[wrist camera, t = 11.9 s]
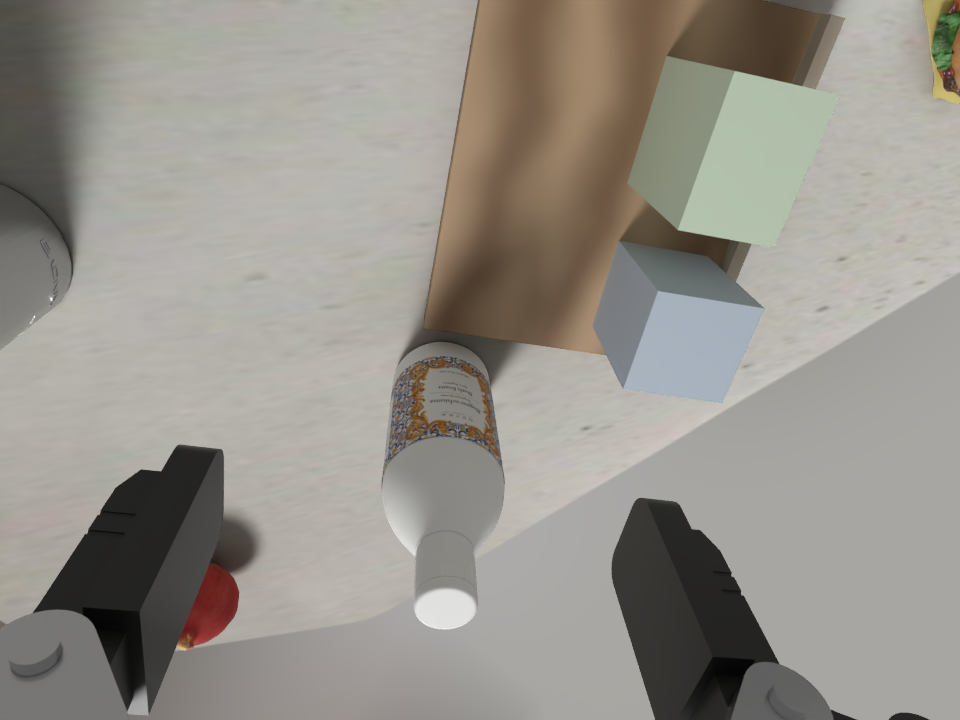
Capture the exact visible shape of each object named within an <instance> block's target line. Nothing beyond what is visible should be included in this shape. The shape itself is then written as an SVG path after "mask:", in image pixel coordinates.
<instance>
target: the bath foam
mask: <svg viewBox="0 0 960 720" xmlns="http://www.w3.org/2000/svg"><path fill="white" fill-rule="evenodd" d="M504 484H505V482H504V473H503V466H502V460H501V453H500V446H499V440H498V433H497V426H496V419H495V413H494V406H493V399H492V393H491V388H490V381H489V376H488V372H487V370H486V367H485V365H484V364H483V362H482V361H481V360H480V358H479V357H478V356H477V355H476V354H475V353H473V352H472V351H471V350H469V349H467V348H465V347H463V346H461V345H458V344H454V343H449V342H434V343H429V344H425V345H422V346H420V347H418V348H416V349H414V350H413V351H411V352H410V353H409V354H407V355H406V356H405V357H404V358H403V359H402V361H401V362H400V364H399V365H398V367H397V370H396V372H395V376H394V380H393V388H392V394H391V403H390V412H389V421H388V431H387V440H386V449H385V458H384V467H383V477H382V497H383V504H384V509H385V513H386V516H387V519H388V521H389V524H390V526H391V528H392V529H393V531H394V533H395V534H396V536H397V537H398V538H399V540H400V541H401V542H402V543H403V544H404V546H405V547H406V548H407V549H408V550H409V551H410V552H411V553H412V554H413V555H414V556H415V557H416V558H415V581H414V610H415V613H416V616H417V618H418V619H419V620H420V621H421V622H422V623H424V624H425V625H427V626H429V627H432V628H436V629H453V628H457V627H460V626H462V625H464V624H466V623H467V622H469V621H470V620H471V619H472V618H473V617H474V615H475V613H476V611H477V606H478V599H477V598H478V597H477V584H476V572H475V571H476V570H475V558H474V554H475V553H476V552H477V551H478V550H479V549H480V547H481V546H482V545H483V544H484V543H485V541H486V540H487V539H488V537H489V536H490V535H491V533H492V532H493V530H494V528H495V526H496V524H497V522H498V519H499V517H500V514H501V510H502V506H503V500H504Z"/></svg>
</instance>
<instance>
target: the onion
mask: <svg viewBox="0 0 960 720" xmlns="http://www.w3.org/2000/svg"><path fill="white" fill-rule="evenodd" d="M238 600H239V590H238V587H237V584H236V582H235V580H234V578H233V577H232V576H231V575H230V574H229V573H228V572H227V571H226V570H225V569H223V568H221V567H220V566H219V565H218V564H216V563H210V564H209V566H208V569H207V571H206V574H205V576H204V579H203V581H202V584H201V586H200V589H199V591H198V594H197V596H196V599H195V601H194V604H193V606H192V609H191V611H190V614H189V616H188V619H187V621H186V624H185V626H184V629H183V631H182V634H181V636H180V639H179V641H178V644H177V646H178V648H179V649H180V650H188V649H191V648H193V646H195V645H199V644H202V643H205V642H208V641H209V640H211V639H213V638H214V637H216V636H217V635H219V634H220V633H221V632H222V631H223V630H224V629H225V628H226V627H227V625H228V624H229V623H230V622H231V620H232V619H233V618H234V616H235V614H236V611H237V608H238Z"/></svg>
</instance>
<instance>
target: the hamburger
mask: <svg viewBox="0 0 960 720" xmlns="http://www.w3.org/2000/svg"><path fill="white" fill-rule="evenodd" d="M922 1H923V9H924V13H925V17H926V21H927V26H928V31H929V45H930V56H931V61H932V65H933V70H934V86H933V96H934V98H942V99H945V100H947V101H948V102H950V103H953V104H960V0H922Z"/></svg>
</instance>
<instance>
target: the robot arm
mask: <svg viewBox="0 0 960 720" xmlns="http://www.w3.org/2000/svg"><path fill="white" fill-rule="evenodd" d="M70 280H71V260H70V256H69V252H68V248H67V246H66V244H65V242H64V240H63V238H62V236H61V234H60V232H59V231H58V229H57V228H56V227H55V225H54V224H53V222H52V221H51V220H50V219H49V218H48V217H47V216H46V215H45V213H44V212H43V211H42V210H41V209H40V208H39V207H38V206H36V205H35V204H34V203H32V202H31V201H30V200H28V199H27V198H26V197H24V196H23V195H21V194H19V193H18V192H16V191H14V190H12V189H10V188H8V187H6V186H4V185H1V184H0V350H1V349H2V348H4V347H5V346H6V345H7V344H9V343H10V342H11V341H12V340H14V339H15V338H16V337H17V336H19V335H20V334H21V333H23V332H24V331H25V330H26V329H28V328H29V327H30V326H31V325H33V324H34V323H35V322H36V321H38V320H39V319H40V318H41V317H43V316H44V315H45V314H46V313H48V312H49V311H50V310H51V309H53V308H54V307H55V306H56V305H57V304H58V303H59V302H60V301H61V300H62V299H63V297H64V295H65V294H66V292H67V291H68V288H69V284H70ZM223 511H224V455H223V451H222V450H221V449H214V448H206V447H197V446H188V445H178V446H177V447H176V448H175V449H174V451H173V452H172V454H171V456H170V458H169V459H168V461H167V463H166V464H165V466H164V468H163V470H162V471H161V472H160V471H151V470H140V471H138V472H137V473H136V474H134V475H133V476H132V477H130V478H129V479H127V480H126V481H125V482H123V483H122V484H120V485H119V486H118V487H116V488H115V490H114V491H113V493H112V494H111V496H110V497H109V499H108V500H107V502H106V503H105V505H104V506H103V508H102V510H101V513H100V515H98V516H97V517H96V519H95V520H94V522H93V523H92V525H91V526H90V528H89V529H88V534H85V535H84V537H83V538H82V540H81V541H80V543H79V544H78V546H77V547H76V549H75V550H74V552H73V554H72V555H71V557H70V558H69V560H68V561H67V563H66V564H65V566H64V567H63V569H62V570H61V572H60V573H59V575H58V576H57V578H56V579H55V581H54V582H53V584H52V585H51V587H50V588H49V590H48V591H47V593H46V595H45V596H44V598H43V599H42V601H41V602H40V604H39V605H38V607H37V608H36V609H35V610H34V612H33V613H32V614H29V615H26V616H23V617H21V618H19V619H16V620H14V621H12V622H11V623H9V624H7V625H5V626H4V627H2V628H1V629H0V720H130V718H129V715H128V714H135V715H149V713H150V711H151V708H152V706H153V703H154V701H155V698H156V696H157V693H158V691H159V688H160V686H161V683H162V681H163V678H164V676H165V673H166V671H167V668H168V666H169V663H170V661H171V658H172V656H173V653H174V651H175V648H176V646H177V644H178V641H179V639H180V636H181V634H182V631H183V629H184V626H185V624H186V621H187V619H188V616H189V614H190V611H191V609H192V606H193V604H194V601H195V599H196V596H197V594H198V591H199V589H200V586H201V584H202V581H203V579H204V576H205V574H206V571H207V569H208V566H209V564H210V561H211V559H212V556H213V554H214V551H215V549H216V546H217V543H218V540H219V537H220V532H221V528H222V522H223ZM612 579H613V584H614V588H615V591H616V594H617V598H618V601H619V604H620V607H621V610H622V614H623V617H624V620H625V623H626V627H627V630H628V633H629V636H630V639H631V643H632V646H633V649H634V652H635V656H636V659H637V662H638V665H639V669H640V672H641V675H642V678H643V681H644V685H645V688H646V691H647V694H648V697H649V701H650V704H651V707H652V710H653V714H654V717H655V720H856V719H853V718H851V717H848V716H845V715H843V714H840V713H837V712H835V711H833V710H830V708H829V706H828V704H827V702H826V701H825V699H824V698H823V696H822V695H821V694H820V693H819V691H818V690H817V689H816V688H815V687H814V686H813V685H812V684H811V683H810V682H809V681H808V680H806V679H805V678H804V677H802V676H801V675H800V674H798V673H797V672H795V671H793V670H791V669H789V668H788V667H785V666H783V665H780V664H779V662H778V660H777V658H776V657H775V655H774V653H773V651H772V649H771V647H770V645H769V643H768V641H767V639H766V637H765V636H764V634H763V632H762V630H761V628H760V626H759V624H758V622H757V620H756V618H755V617H754V615H753V613H752V611H751V609H750V607H749V605H748V603H747V601H746V599H745V597H744V596H741V590H740V588H739V586H738V584H737V582H736V580H735V578H734V577H732V576H731V571H730V569H729V567H728V565H727V563H726V561H725V559H724V557H723V555H722V554H721V552H720V550H719V549H718V548H717V547H716V546H715V545H714V544H713V543H712V542H711V541H710V540H709V539H708V538H707V537H706V536H705V535H704V534H703V533H702V532H701V531H700V530H693V529H691V527H690V525H689V523H688V521H687V519H686V517H685V515H684V513H683V511H682V509H681V507H680V505H679V504H678V503H676V502H673V501H665V500H655V499H646V498H639V499H637V500H636V501H635V503H634V505H633V507H632V509H631V511H630V514H629V516H628V519H627V521H626V524H625V526H624V529H623V531H622V534H621V536H620V539H619V541H618V543H617V546H616V548H615V551H614V554H613V559H612ZM889 720H928V719H927V718H924V717H922V716H919V715H916V714H912V713H898V714H895V715H893V716H892V717H891V718H890V719H889Z"/></svg>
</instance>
